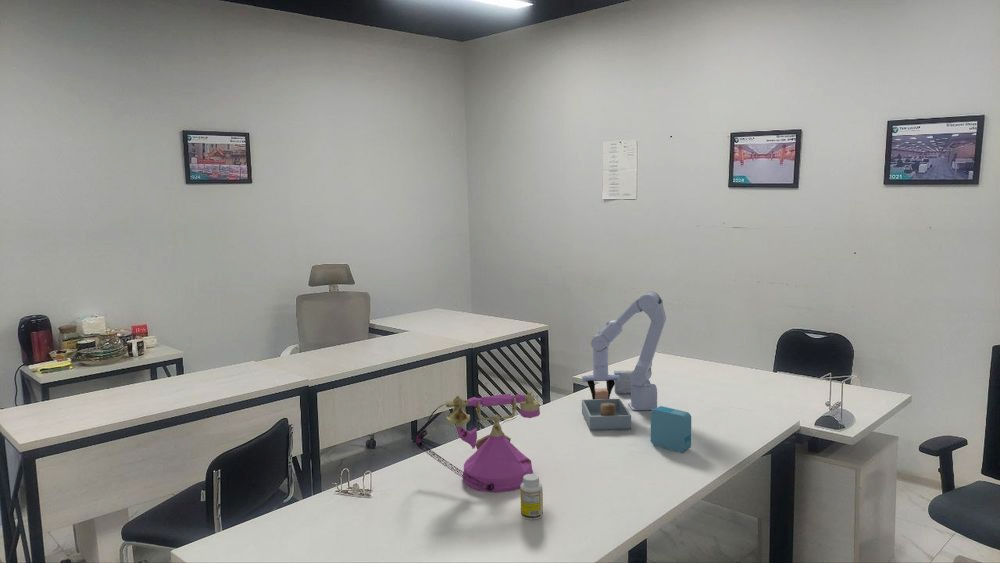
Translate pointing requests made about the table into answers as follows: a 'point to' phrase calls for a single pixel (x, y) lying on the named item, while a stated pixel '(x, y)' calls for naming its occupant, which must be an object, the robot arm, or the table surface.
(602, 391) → the terracotta cube
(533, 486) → the supplement bottle
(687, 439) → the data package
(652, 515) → the table surface
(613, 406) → the walnut cylinder
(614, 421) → the tote
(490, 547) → the table surface
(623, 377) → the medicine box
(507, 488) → the telephone
